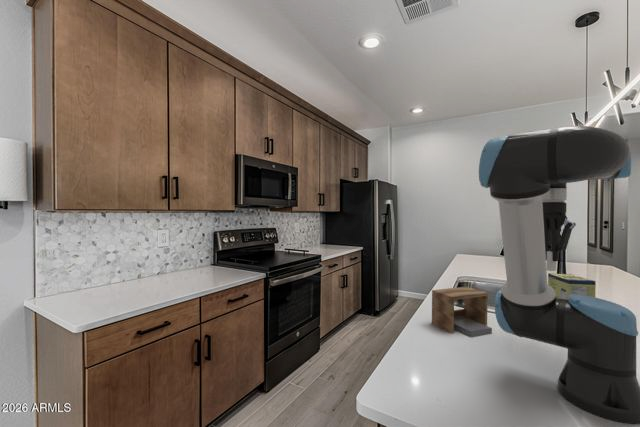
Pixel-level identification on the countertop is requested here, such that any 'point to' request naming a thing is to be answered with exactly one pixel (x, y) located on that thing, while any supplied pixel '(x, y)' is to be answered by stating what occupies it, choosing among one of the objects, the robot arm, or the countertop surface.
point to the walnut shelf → (472, 309)
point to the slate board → (470, 327)
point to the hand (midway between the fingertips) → (551, 270)
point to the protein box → (571, 285)
